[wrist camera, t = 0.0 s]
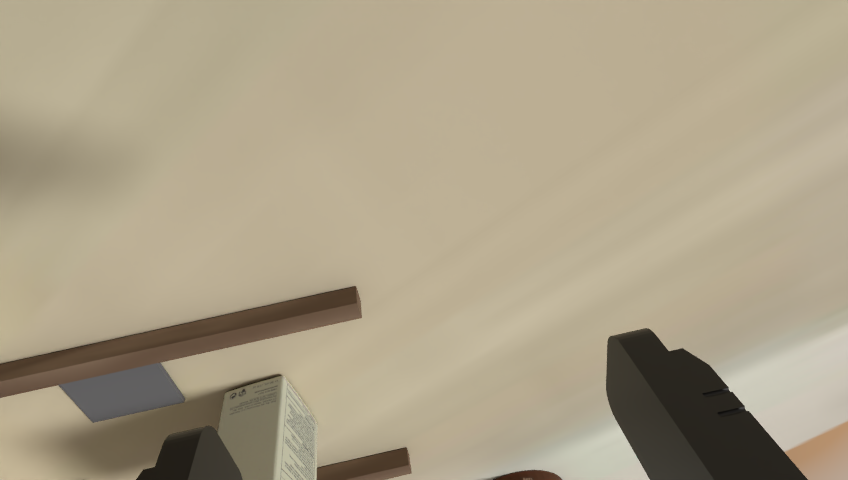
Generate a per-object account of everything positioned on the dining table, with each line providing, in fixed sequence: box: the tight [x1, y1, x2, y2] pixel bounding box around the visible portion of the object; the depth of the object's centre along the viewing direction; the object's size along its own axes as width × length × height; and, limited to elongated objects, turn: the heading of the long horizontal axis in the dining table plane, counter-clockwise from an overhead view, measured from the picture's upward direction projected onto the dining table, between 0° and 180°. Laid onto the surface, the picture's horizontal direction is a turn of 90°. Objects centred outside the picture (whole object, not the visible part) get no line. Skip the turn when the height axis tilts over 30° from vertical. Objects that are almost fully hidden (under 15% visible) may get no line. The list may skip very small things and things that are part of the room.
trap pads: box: [59, 363, 185, 423], centre depth 35 cm, size 16×16×1 cm
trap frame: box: [0, 286, 411, 480], centre depth 34 cm, size 18×41×3 cm, turn 99°
